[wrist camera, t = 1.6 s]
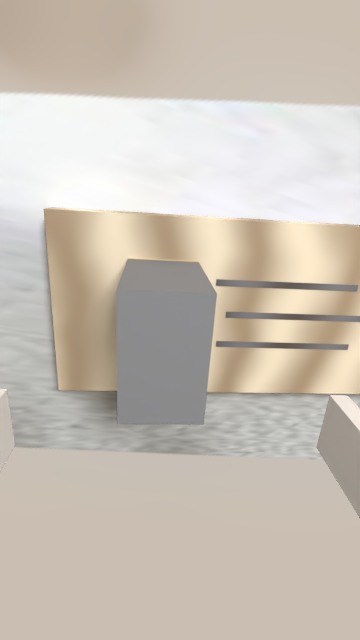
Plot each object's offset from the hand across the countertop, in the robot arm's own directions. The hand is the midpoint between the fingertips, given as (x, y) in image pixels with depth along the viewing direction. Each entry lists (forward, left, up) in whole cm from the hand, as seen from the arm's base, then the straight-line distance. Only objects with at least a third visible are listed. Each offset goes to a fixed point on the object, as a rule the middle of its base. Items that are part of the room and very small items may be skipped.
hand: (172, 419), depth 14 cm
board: (+5, +3, -15) cm, 16 cm away
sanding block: (0, 0, -13) cm, 13 cm away
